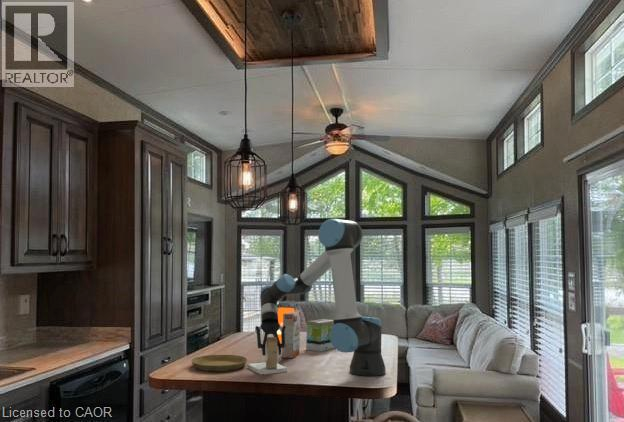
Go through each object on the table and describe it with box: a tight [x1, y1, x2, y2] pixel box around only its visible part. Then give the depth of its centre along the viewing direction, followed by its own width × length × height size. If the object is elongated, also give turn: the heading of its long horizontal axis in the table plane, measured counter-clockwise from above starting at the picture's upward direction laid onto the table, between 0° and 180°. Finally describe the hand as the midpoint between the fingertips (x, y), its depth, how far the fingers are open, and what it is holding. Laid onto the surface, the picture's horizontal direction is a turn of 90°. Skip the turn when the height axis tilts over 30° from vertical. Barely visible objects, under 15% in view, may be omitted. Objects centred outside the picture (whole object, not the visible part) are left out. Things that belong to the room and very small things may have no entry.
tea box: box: [305, 318, 336, 352], centre depth 259 cm, size 15×10×15 cm, turn 143°
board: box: [247, 362, 288, 376], centre depth 209 cm, size 14×12×2 cm
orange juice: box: [277, 307, 295, 344], centre depth 270 cm, size 8×9×20 cm
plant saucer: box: [191, 354, 248, 373], centre depth 214 cm, size 24×24×3 cm
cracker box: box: [281, 310, 301, 359], centre depth 240 cm, size 14×6×21 cm, turn 168°
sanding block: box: [266, 336, 277, 369], centre depth 206 cm, size 6×4×12 cm, turn 10°
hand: (272, 361), depth 202 cm, fingers closed on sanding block, 4 cm apart
